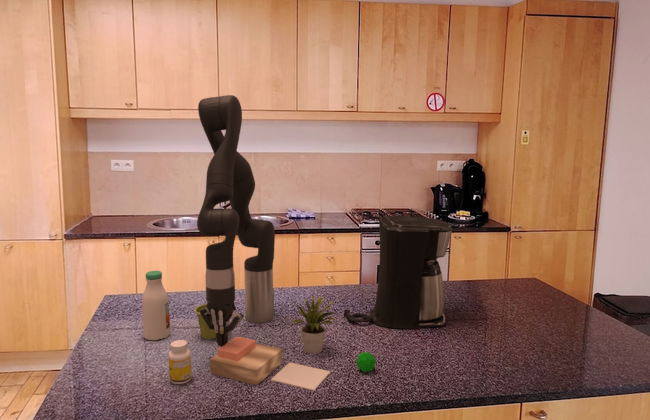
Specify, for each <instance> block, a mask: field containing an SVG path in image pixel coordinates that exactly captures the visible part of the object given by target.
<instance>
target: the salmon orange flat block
mask: <svg viewBox="0 0 650 420" xmlns="http://www.w3.org/2000/svg"><path fill="white" fill-rule="evenodd" d="M256 344H257V343H256V340H255V339H252V338H246V337H243V336H236V337H233V339H231V340H230V341H229V340H228V343H227V344H225V345H224V346H222V347H221V346H220V347H219V348H218V349H217V354H218V357H221V358H225V359H230V360H234V361H238V360H240V359H241V358H242V357H244V356H245V355H246V354H248V353H249V352H250V351H251V350H253V349H254V348H255V347H256Z"/></svg>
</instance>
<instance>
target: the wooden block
mask: <svg viewBox="0 0 650 420" xmlns="http://www.w3.org/2000/svg"><path fill="white" fill-rule="evenodd" d="M282 364H283V348H280V347H276V346H271V345H270V346H269V345H266V344H261V343H256V347H255V348H254V349H253V350H251V351H250V352H249V353H248V354H246V355H245V356H244V357H242V358H241V359H240V360H238V361H234V360H230V359H225V358H221V357H218V353H217V354H215V355H214V356H213V357H211V358H210V359H209V369H210V370H209V371H210V372H209V373H210V375H215V376H218V377H223V378H227V379H231V380H235V381H238V382H242V383H246V384H250V385H254V386H258V385H259V384H260V383H261V382H262V381H263V380H265V379H266V378H267V377H268V376H269V375H270V374H271V373H273V372H274V371H275V370H276V369H277V368H278V367H279V366H281V365H282Z"/></svg>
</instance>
